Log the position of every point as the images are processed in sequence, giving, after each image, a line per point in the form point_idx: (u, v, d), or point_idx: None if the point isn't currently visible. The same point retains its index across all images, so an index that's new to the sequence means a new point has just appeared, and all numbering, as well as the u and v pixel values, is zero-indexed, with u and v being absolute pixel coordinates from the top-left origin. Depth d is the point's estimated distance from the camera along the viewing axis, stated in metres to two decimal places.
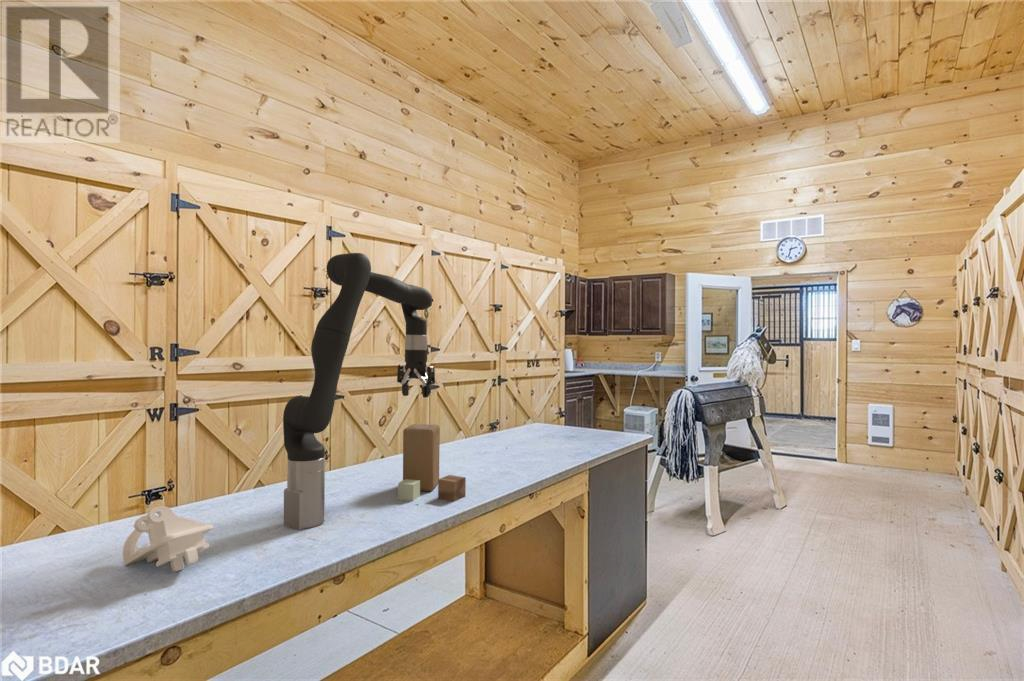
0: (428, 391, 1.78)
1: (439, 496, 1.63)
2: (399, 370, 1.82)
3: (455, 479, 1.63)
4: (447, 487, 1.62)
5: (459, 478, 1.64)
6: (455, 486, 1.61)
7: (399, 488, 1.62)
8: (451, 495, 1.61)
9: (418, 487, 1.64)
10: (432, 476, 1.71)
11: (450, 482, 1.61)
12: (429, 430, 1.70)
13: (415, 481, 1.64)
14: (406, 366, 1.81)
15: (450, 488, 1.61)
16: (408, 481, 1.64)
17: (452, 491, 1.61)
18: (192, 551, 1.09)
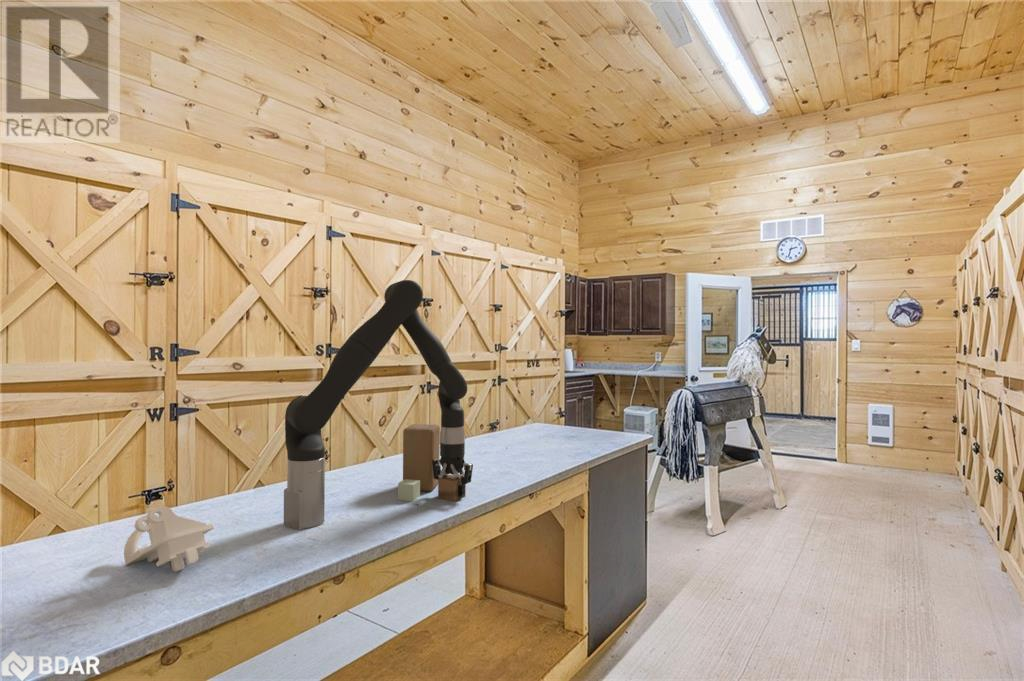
0: (463, 490, 1.63)
1: (439, 496, 1.63)
2: (434, 465, 1.66)
3: (455, 479, 1.63)
4: (447, 487, 1.62)
5: None
6: (455, 486, 1.61)
7: (399, 488, 1.62)
8: (451, 495, 1.61)
9: (418, 487, 1.64)
10: (432, 476, 1.71)
11: (450, 482, 1.61)
12: (429, 430, 1.70)
13: (415, 481, 1.64)
14: (441, 460, 1.65)
15: (450, 487, 1.61)
16: (408, 481, 1.64)
17: (452, 491, 1.61)
18: (193, 551, 1.09)
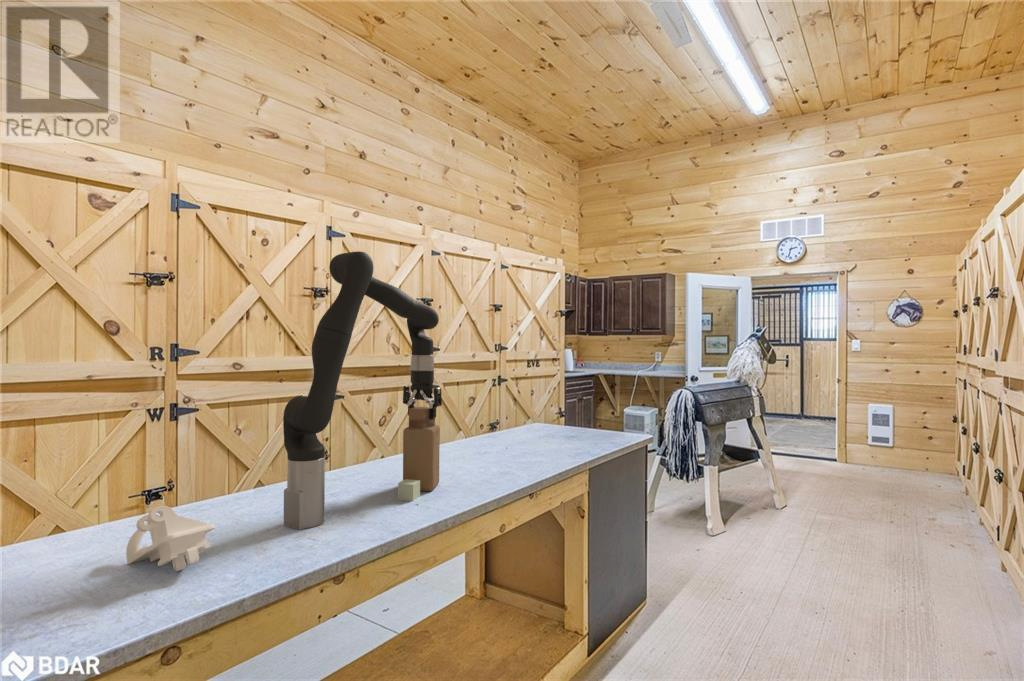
0: (435, 413, 1.73)
1: (410, 424, 1.74)
2: (405, 391, 1.77)
3: (425, 408, 1.74)
4: (417, 415, 1.72)
5: None
6: (424, 414, 1.72)
7: (399, 488, 1.62)
8: (420, 422, 1.72)
9: (418, 487, 1.64)
10: (432, 476, 1.71)
11: (420, 410, 1.72)
12: (429, 430, 1.70)
13: (415, 481, 1.64)
14: (412, 387, 1.76)
15: (419, 415, 1.72)
16: (408, 481, 1.64)
17: (422, 419, 1.72)
18: (193, 551, 1.09)
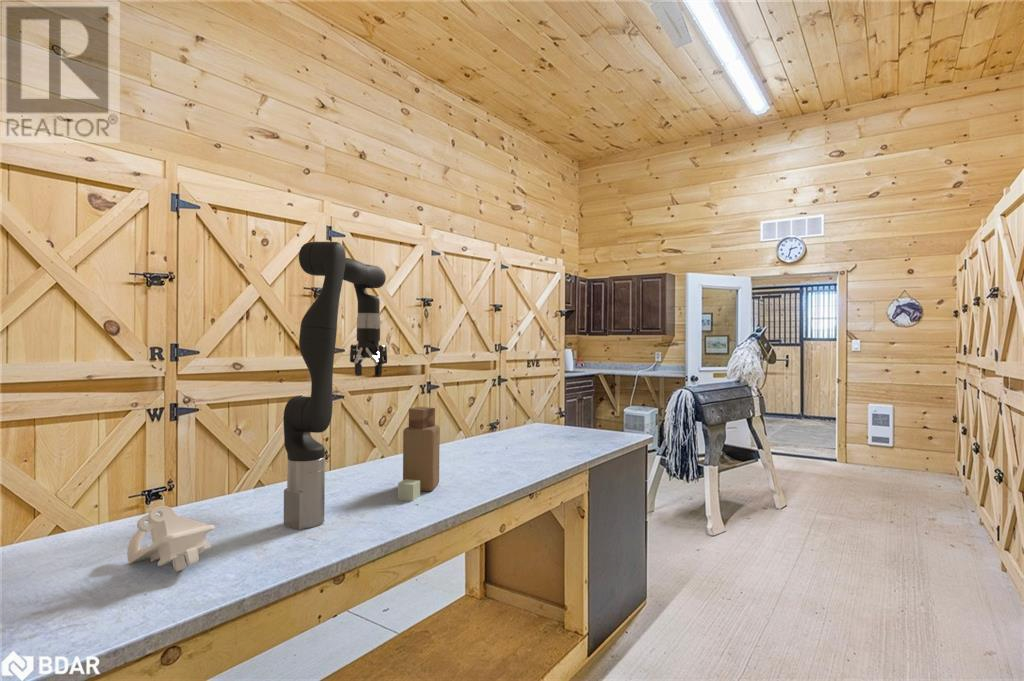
0: (380, 370, 1.75)
1: (409, 424, 1.74)
2: (352, 349, 1.79)
3: (425, 408, 1.74)
4: (417, 415, 1.72)
5: (429, 408, 1.75)
6: (424, 414, 1.72)
7: (399, 488, 1.62)
8: (420, 422, 1.72)
9: (418, 487, 1.64)
10: (432, 476, 1.71)
11: (419, 410, 1.72)
12: (429, 430, 1.70)
13: (415, 481, 1.64)
14: (358, 345, 1.78)
15: (419, 416, 1.72)
16: (408, 481, 1.64)
17: (421, 419, 1.72)
18: (193, 551, 1.09)
